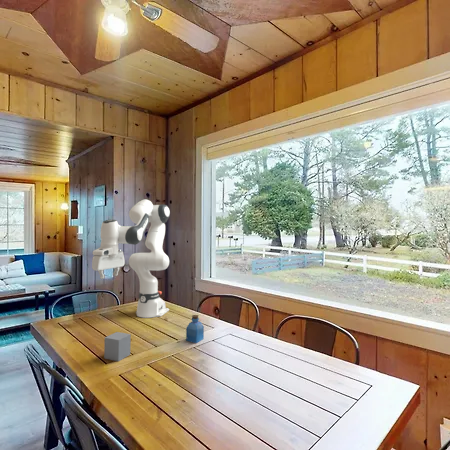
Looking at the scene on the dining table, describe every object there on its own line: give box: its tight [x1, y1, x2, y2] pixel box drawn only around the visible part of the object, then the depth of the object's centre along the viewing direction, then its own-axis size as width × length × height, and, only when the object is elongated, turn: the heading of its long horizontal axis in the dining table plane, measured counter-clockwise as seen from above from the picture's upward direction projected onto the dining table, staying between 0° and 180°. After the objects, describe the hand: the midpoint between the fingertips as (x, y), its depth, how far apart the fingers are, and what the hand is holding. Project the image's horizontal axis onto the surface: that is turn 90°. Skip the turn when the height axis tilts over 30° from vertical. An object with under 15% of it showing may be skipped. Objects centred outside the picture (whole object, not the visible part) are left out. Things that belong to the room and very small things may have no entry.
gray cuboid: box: [103, 331, 132, 362], centre depth 131 cm, size 8×8×9 cm
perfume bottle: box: [185, 314, 205, 344], centre depth 151 cm, size 6×6×12 cm
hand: (109, 277), depth 159 cm, fingers open, 8 cm apart
